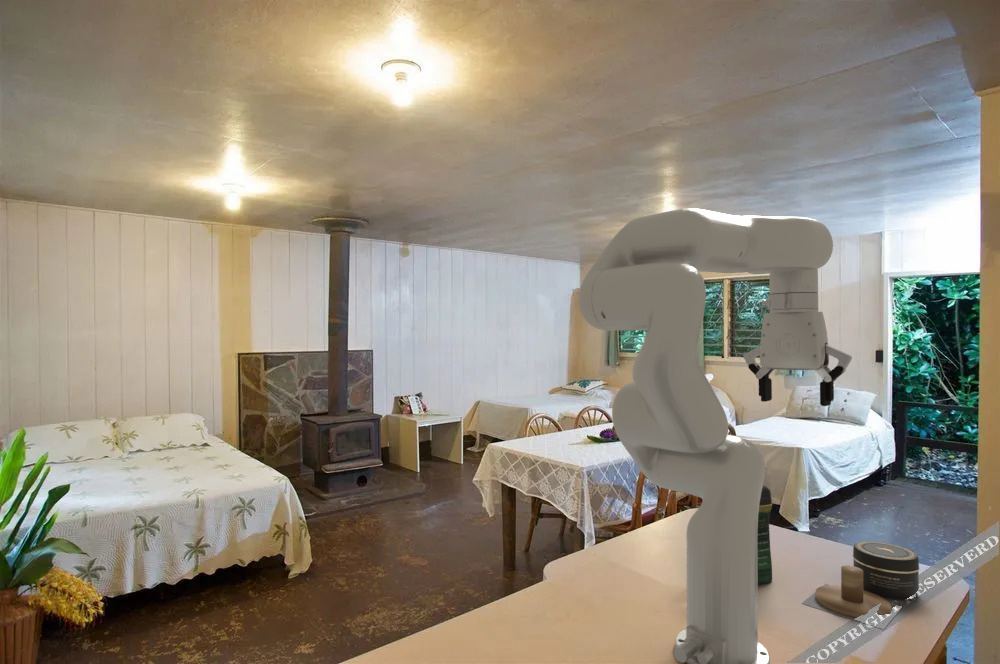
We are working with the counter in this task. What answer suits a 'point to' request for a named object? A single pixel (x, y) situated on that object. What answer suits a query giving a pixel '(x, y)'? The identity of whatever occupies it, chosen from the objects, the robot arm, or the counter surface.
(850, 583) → the lid
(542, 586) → the counter surface
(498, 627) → the counter surface
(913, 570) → the jar
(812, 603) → the mat
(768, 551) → the coffee jar
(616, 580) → the counter surface
